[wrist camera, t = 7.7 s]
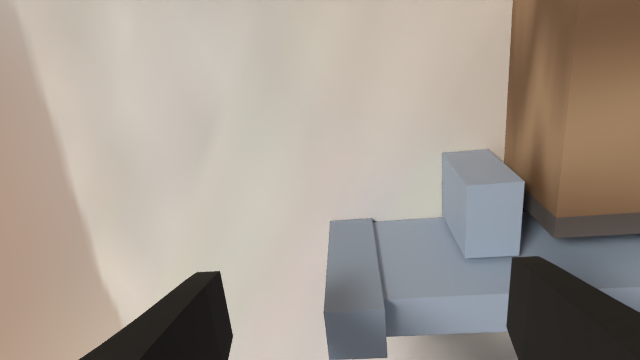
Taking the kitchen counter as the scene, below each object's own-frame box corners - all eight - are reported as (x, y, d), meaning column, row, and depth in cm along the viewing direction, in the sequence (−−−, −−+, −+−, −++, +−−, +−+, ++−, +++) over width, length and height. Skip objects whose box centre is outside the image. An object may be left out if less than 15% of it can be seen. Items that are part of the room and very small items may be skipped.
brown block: (582, 180, 19) (661, 232, 14) (502, 185, 19) (553, 238, 14) (626, -168, 14) (761, -258, 10) (521, -153, 15) (603, -234, 10)
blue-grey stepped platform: (759, 232, 19) (964, 336, 13) (333, 257, 21) (329, 359, 15) (791, 125, 18) (1046, 184, 11) (324, 162, 19) (314, 231, 13)
